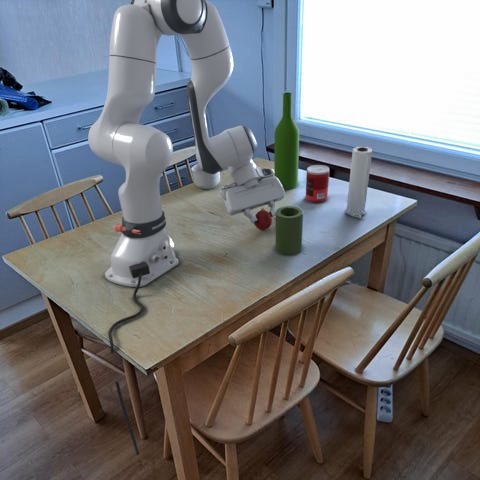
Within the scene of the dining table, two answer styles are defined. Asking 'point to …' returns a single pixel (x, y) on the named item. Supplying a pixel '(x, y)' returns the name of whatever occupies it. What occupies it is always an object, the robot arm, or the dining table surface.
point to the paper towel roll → (358, 181)
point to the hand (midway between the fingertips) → (264, 219)
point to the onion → (263, 220)
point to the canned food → (317, 183)
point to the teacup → (204, 178)
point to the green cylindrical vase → (289, 230)
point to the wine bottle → (286, 147)
